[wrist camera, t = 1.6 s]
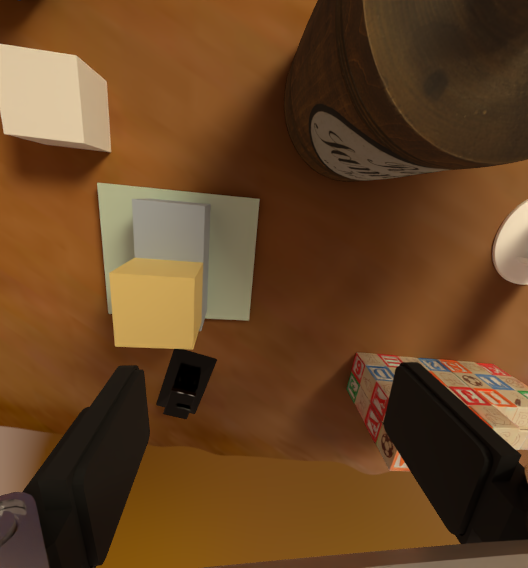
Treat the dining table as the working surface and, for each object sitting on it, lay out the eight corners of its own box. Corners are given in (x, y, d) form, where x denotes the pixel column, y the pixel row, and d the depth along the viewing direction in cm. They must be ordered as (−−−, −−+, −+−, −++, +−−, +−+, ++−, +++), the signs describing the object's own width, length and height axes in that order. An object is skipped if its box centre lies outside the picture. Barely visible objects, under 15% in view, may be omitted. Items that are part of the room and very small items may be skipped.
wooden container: (288, 188, 29) (407, 172, 8) (278, 17, 25) (488, -962, 4) (419, 176, 30) (823, 132, 9) (433, 7, 25) (1319, -850, 5)
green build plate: (102, 183, 28) (97, 182, 26) (258, 198, 29) (259, 198, 28) (113, 309, 32) (108, 313, 31) (248, 316, 34) (249, 320, 32)
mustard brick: (134, 257, 24) (109, 272, 19) (203, 262, 25) (194, 278, 20) (137, 318, 26) (115, 346, 21) (201, 321, 27) (193, 349, 22)
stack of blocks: (493, 362, 39) (600, 432, 28) (477, 397, 41) (571, 476, 30) (354, 351, 37) (408, 424, 25) (344, 389, 39) (389, 473, 27)
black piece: (197, 420, 39) (192, 449, 34) (146, 408, 37) (134, 437, 33) (226, 349, 35) (224, 371, 31) (171, 333, 34) (160, 354, 30)
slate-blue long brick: (150, 198, 27) (131, 199, 23) (210, 204, 28) (204, 206, 23) (153, 307, 31) (138, 328, 26) (207, 310, 32) (201, 331, 27)
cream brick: (37, 71, 24) (-12, 41, 20) (107, 81, 25) (76, 55, 20) (46, 144, 26) (4, 133, 22) (111, 152, 27) (84, 143, 22)
